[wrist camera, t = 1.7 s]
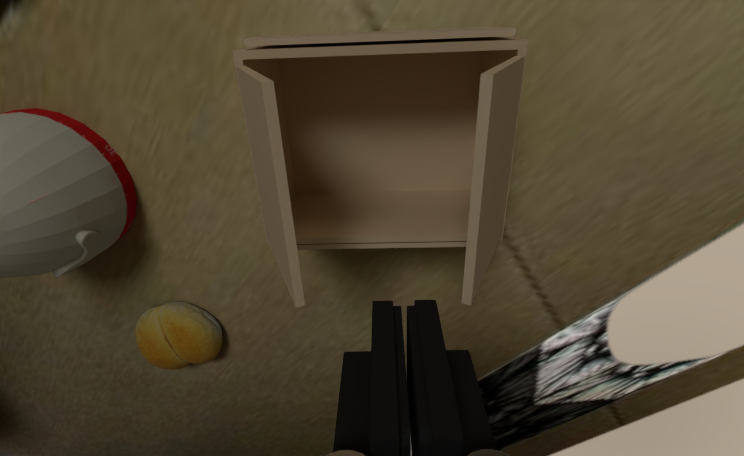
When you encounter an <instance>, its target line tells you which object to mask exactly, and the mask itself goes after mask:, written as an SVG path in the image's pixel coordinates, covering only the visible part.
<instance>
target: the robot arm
mask: <svg viewBox="0 0 744 456" xmlns="http://www.w3.org/2000/svg"><path fill="white" fill-rule="evenodd" d="M410 436H411V440H410ZM411 449H412V456H510V455H508V454H506V453H504V452H501V451H497V450H496V448H495V444H494V440H493V437H492V433H491V429H490V426H489V422H488V418H487V415H486V411H485V407H484V404H483V400H482V396H481V393H480V389H479V385H478V382H477V378H476V374H475V371H474V367H473V363H472V360H471V356H470V353H469V351H468V350H446V348H445V343H444V339H443V334H442V329H441V324H440V319H439V314H438V309H437V304H436V300H415V305H414V306H407V380H406V367H405V354H404V340H403V327H402V314H401V306H393V301H373V309H372V348H371V351H367V352H344V357H343V366H342V375H341V384H340V393H339V402H338V412H337V421H336V430H335V439H334V448H333V453H330V454H328V455H327V456H411Z"/></svg>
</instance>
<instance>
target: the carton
mask: <svg viewBox="0 0 744 456" xmlns="http://www.w3.org/2000/svg"><path fill="white" fill-rule="evenodd" d="M515 34H516V28H506V27H480V28H455V29H429V30H404V31H378V32H353V33H327V34H302V35H276V36H261V37H253V38H245V39H244V45H245V46H254V47H249V48H244V49H238V50H233V57H234V62H235V68H236V66H247V67H248V68H250V69H252V70H254V71H256V72H258V73H259V74H261V75H263V76H265V77H267V78H269V79H270V80H272V81H273V82H274V89H275V96H276V103H277V110H278V117H279V124H280V131H281V139H282V146H283V153H284V160H285V167H286V174H287V181H288V188H289V195H290V202H291V210H292V217H293V224H294V231H295V238H296V245H297V250H310V249H368V248H426V247H466V245H467V233H468V221H469V209H470V197H471V185H472V173H473V161H474V149H475V137H476V125H477V113H478V101H479V89H480V77H481V74H482V73H484V72H486V71H488V70H490V69H491V68H493V67H495V66H497V65H499V64H501V63H503V62H505V61H507V60H509V59H511V58H513V57H515V56H525V62H526V54H527V46H528V39H521V38H513V37H505V36H515ZM525 62H524V69H525ZM524 69H523V77H524ZM236 73H237V70H236ZM523 77H522V85H523ZM237 79H238V75H237ZM238 85H239V81H238ZM522 85H521V92H522ZM239 90H240V86H239ZM240 96H241V92H240ZM520 100H521V93H520ZM520 100H519V108H520ZM241 101H242V98H241ZM242 107H243V103H242ZM519 108H518V116H519ZM243 112H244V109H243ZM518 116H517V123H518ZM244 118H245V114H244ZM245 124H246V120H245ZM246 129H247V126H246ZM516 131H517V124H516ZM247 135H248V131H247ZM515 139H516V132H515ZM515 139H514V146H515ZM248 140H249V137H248ZM249 146H250V142H249ZM250 151H251V148H250ZM513 154H514V147H513ZM251 157H252V154H251ZM512 162H513V155H512ZM252 163H253V159H252ZM253 168H254V165H253ZM511 170H512V163H511ZM511 170H510V177H511ZM254 174H255V170H254ZM255 179H256V176H255ZM256 185H257V182H256ZM509 185H510V178H509ZM257 191H258V187H257ZM508 193H509V186H508ZM258 196H259V193H258ZM507 200H508V194H507ZM259 202H260V198H259ZM260 207H261V204H260ZM506 208H507V201H506ZM261 213H262V210H261ZM505 216H506V209H505ZM262 218H263V215H262ZM504 223H505V217H504ZM263 224H264V221H263ZM264 230H265V226H264ZM503 231H504V225H503ZM265 235H266V232H265ZM502 239H503V233H502V236H501V238H500V240H502ZM266 241H267V238H266ZM268 244H269V243H268V241H267V245H268Z"/></svg>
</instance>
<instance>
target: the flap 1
mask: <svg viewBox="0 0 744 456" xmlns="http://www.w3.org/2000/svg"><path fill="white" fill-rule="evenodd" d="M236 70H237V75H238V81H239V86H240V92H241V98H242V103H243V109H244V114H245V120H246V126H247V131H248V137H249V142H250V148H251V154H252V159H253V165H254V170H255V176H256V182H257V187H258V193H259V198H260V204H261V210H262V215H263V221H264V226H265V232H266V238H267V241H268V243H269V245H270V248H271V250H272V252H273V255H274V257H275V260H276V262H277V264H278V267H279V269H280V271H281V274H282V276H283V279H284V281H285V283H286V286H287V288H288V290H289V293H290V295H291V298H292V300H293V302H294V305H295V307H296V308H297V307H300V306H304V305H305V302H304V295H303V288H302V281H301V274H300V266H299V259H298V252H297V245H296V238H295V231H294V224H293V217H292V210H291V202H290V195H289V188H288V181H287V174H286V167H285V160H284V153H283V146H282V139H281V131H280V124H279V117H278V110H277V103H276V96H275V89H274V82H273V81H272V80H270V79H269V78H267V77H265V76H263V75H261V74H259V73H258V72H256V71H254V70H252V69H250V68H248V67H247V66H236Z"/></svg>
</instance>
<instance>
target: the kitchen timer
mask: <svg viewBox="0 0 744 456" xmlns="http://www.w3.org/2000/svg"><path fill="white" fill-rule="evenodd" d="M136 203H137V197H136V193H135V188H134V184H133V180H132V177H131V176H130V174H129V172H128V170H127V168H126V166H125V164H124V163H123V161H122V159H121V158H120V156H119V155H118V154H117V153H116V152H115V151H114V150H113V148H112V147H111V146H110V145H109V144H108V143H107V142H106V140H105V139H103V138H102V137H101V136H99V135H98V134H97V133H95V132H94V131H93V130H91V129H90V128H89V127H87V126H86V125H85V124H83V123H81V122H79V121H77V120H74V119H72V118H70V117H68V116H66V115H63V114H61V113H58V112H53V111H48V110H42V109H37V108H33V109H23V110H14V111H10V112H5V113H1V114H0V278H5V277H20V276H32V275H39V274H44V273H48V272H51V271H52V272H53V273H54V275H55V277H56V278H58V277H60V276H62V275H64V274H66V273H68V272H70V271H71V270H73V269H75V268H77V267H79V266H81V265H83V264H84V263H86V262H88V261H89V260H91V259H92V258H94V257H95V256H97V255H98V254H100V253H102V252H103V251H105V250H106V249H108V248H109V247H110V246H111V245H113V244H114V243H115V242H116V241H117V240H118V239H120V238H121V237H122V236H123V235H124V234H125V233H126V232H127V231H128V230H129V228H130V226H131V224H132V222H133V220H134V218H135V216H136Z"/></svg>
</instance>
